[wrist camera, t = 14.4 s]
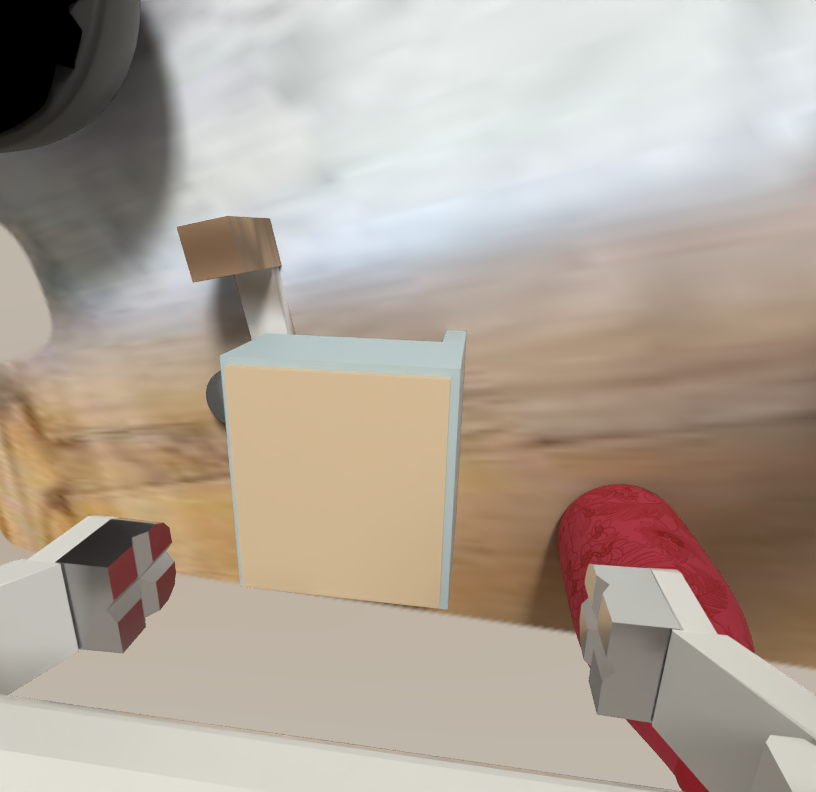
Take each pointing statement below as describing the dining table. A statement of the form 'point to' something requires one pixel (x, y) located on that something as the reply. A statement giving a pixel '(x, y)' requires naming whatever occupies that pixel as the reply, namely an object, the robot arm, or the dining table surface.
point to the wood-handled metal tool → (241, 267)
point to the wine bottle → (644, 548)
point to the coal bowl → (60, 65)
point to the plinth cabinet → (346, 464)
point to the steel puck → (216, 397)
